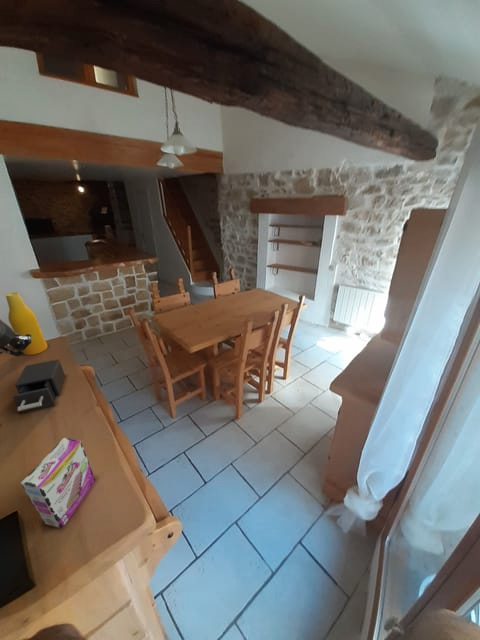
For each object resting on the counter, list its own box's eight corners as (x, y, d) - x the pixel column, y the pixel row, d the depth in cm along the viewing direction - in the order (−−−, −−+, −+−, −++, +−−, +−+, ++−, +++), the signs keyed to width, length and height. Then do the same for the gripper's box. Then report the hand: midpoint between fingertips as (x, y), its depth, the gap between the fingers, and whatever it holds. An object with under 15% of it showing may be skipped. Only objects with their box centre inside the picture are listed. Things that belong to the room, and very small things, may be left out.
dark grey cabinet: (60, 397, 93) (52, 377, 88) (25, 406, 89) (14, 385, 85) (66, 378, 102) (58, 359, 98) (34, 385, 98) (25, 365, 94)
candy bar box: (64, 531, 57) (39, 489, 49) (45, 526, 57) (17, 484, 50) (98, 481, 66) (81, 439, 59) (81, 477, 67) (62, 436, 60)
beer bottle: (36, 358, 114) (10, 299, 101) (19, 355, 116) (-9, 297, 102) (53, 347, 122) (31, 291, 109) (36, 345, 124) (13, 289, 110)
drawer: (52, 415, 84) (44, 398, 81) (17, 424, 81) (7, 406, 78) (60, 387, 96) (54, 371, 93) (31, 393, 93) (23, 377, 90)
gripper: (19, 313, 67) (44, 338, 82) (-48, 321, 62) (-8, 346, 77) (19, 338, 64) (45, 359, 79) (-51, 349, 59) (-9, 369, 74)
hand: (19, 353), depth 78 cm, fingers closed
